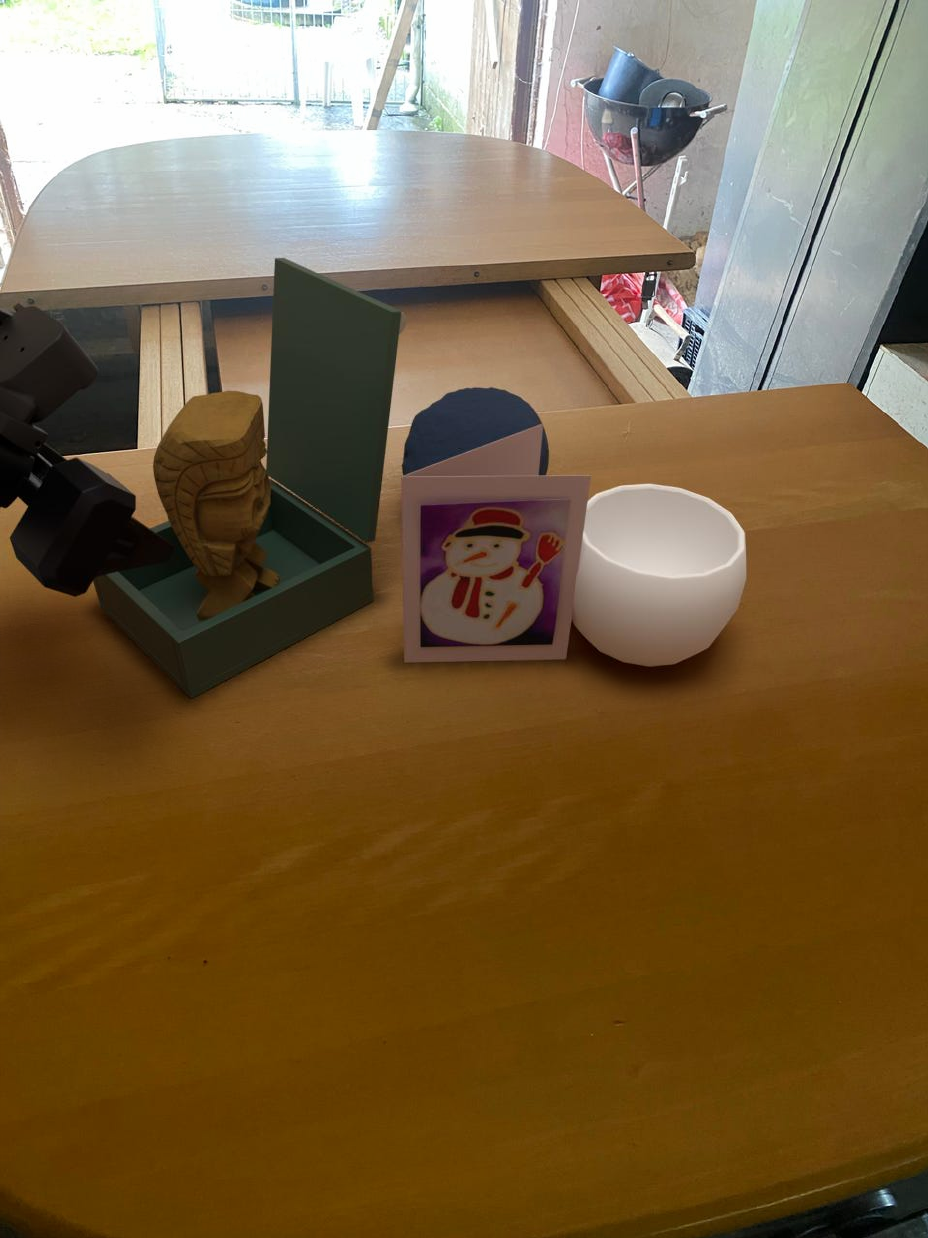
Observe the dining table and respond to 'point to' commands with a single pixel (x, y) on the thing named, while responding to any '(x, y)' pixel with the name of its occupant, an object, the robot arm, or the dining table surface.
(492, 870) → the dining table surface
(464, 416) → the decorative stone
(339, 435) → the box lid
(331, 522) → the green open box
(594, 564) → the cup
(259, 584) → the figurine
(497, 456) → the greeting card
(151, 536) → the robot arm
